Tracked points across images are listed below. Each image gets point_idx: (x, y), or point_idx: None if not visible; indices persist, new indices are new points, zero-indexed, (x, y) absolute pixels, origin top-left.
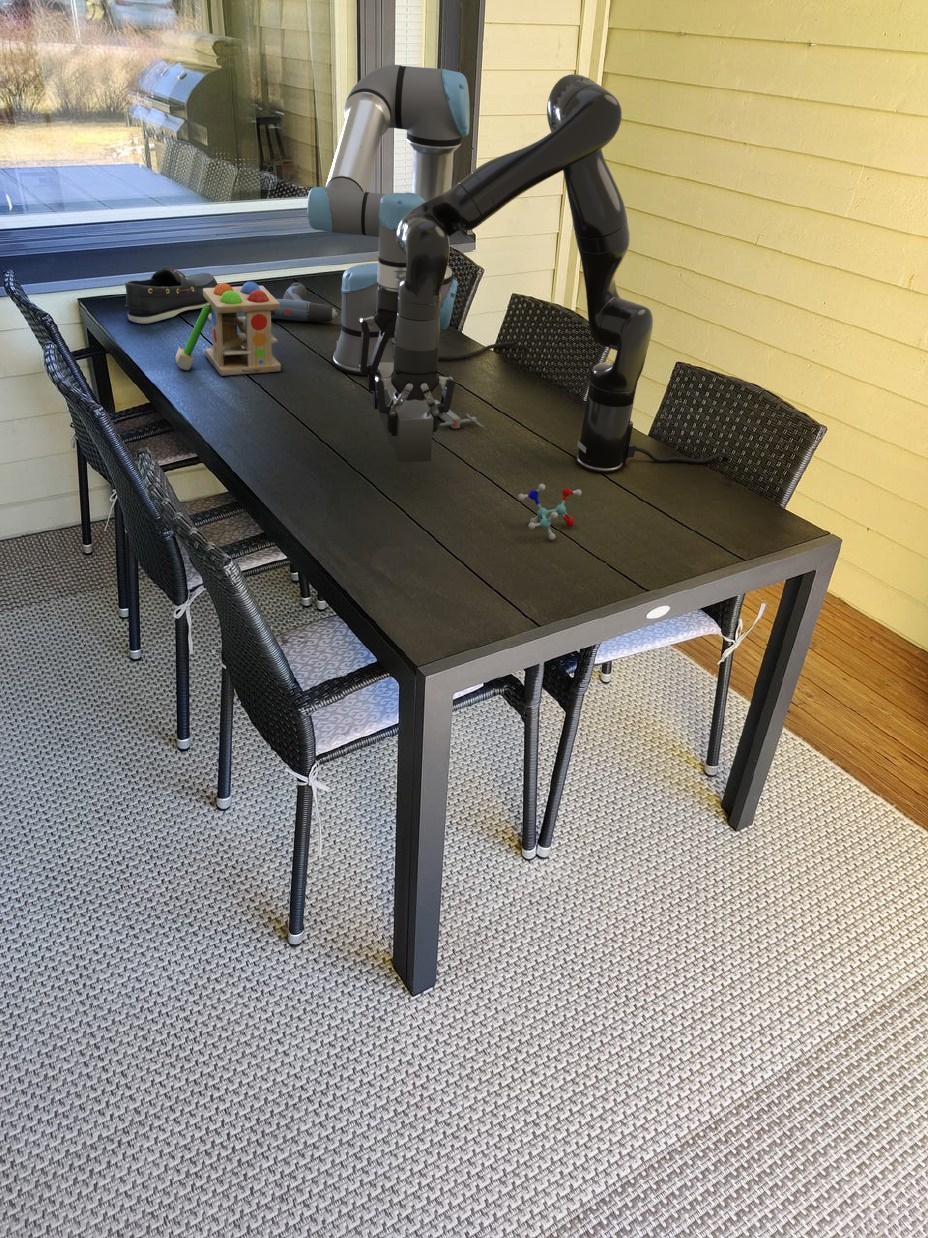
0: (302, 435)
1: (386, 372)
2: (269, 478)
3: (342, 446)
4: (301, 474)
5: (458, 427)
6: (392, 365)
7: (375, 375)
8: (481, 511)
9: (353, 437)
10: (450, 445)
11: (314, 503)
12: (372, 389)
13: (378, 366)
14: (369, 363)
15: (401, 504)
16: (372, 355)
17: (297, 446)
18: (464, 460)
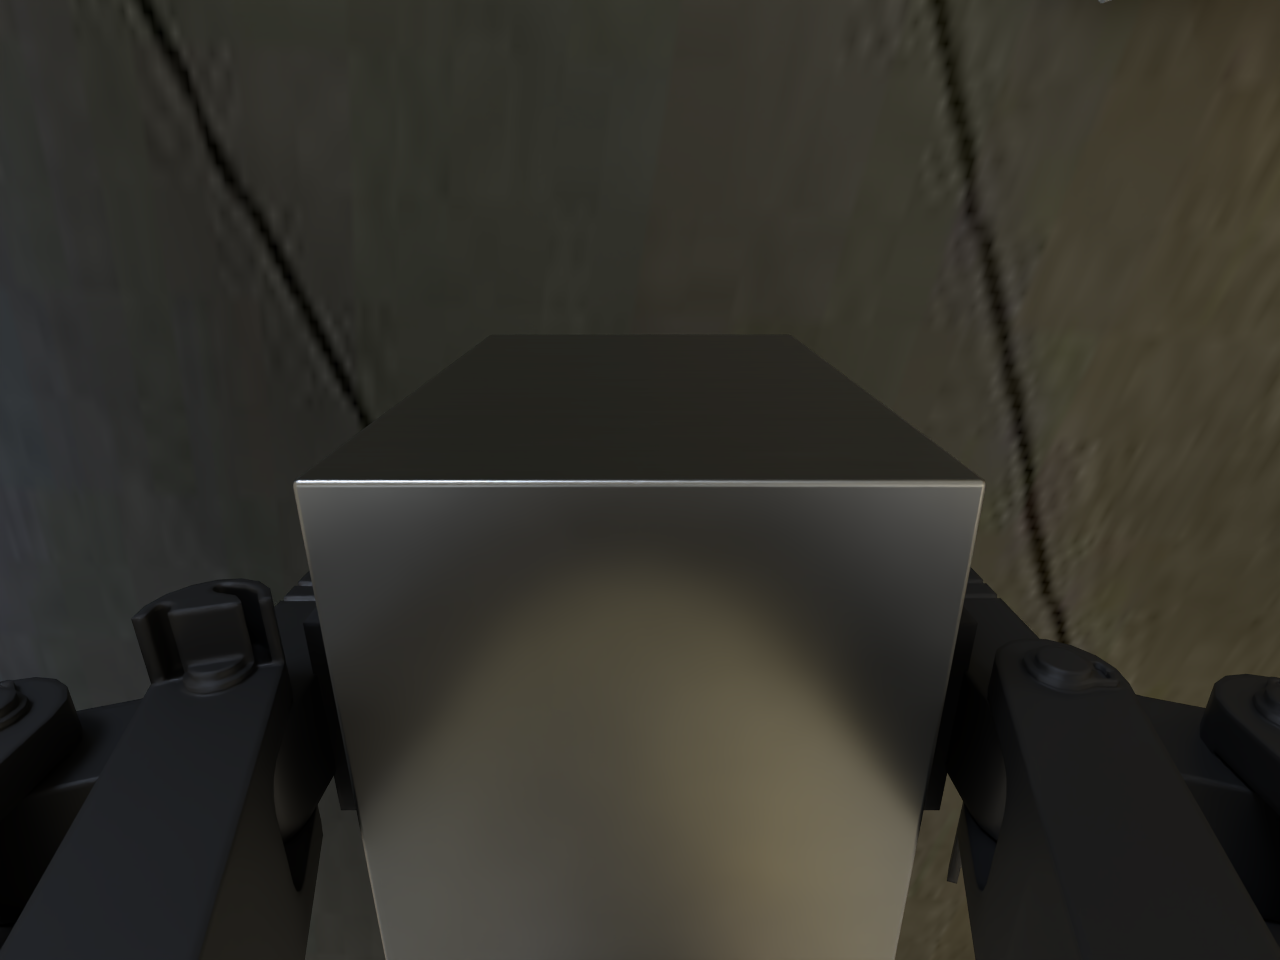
0: (82, 65)
1: (484, 920)
2: (25, 620)
3: (362, 263)
4: (169, 590)
5: None
6: (638, 647)
7: (339, 769)
8: (910, 899)
9: (433, 116)
10: (1042, 276)
11: None
12: None
13: (349, 687)
14: (121, 749)
15: None
16: (30, 941)
17: (84, 251)
18: (1038, 481)
